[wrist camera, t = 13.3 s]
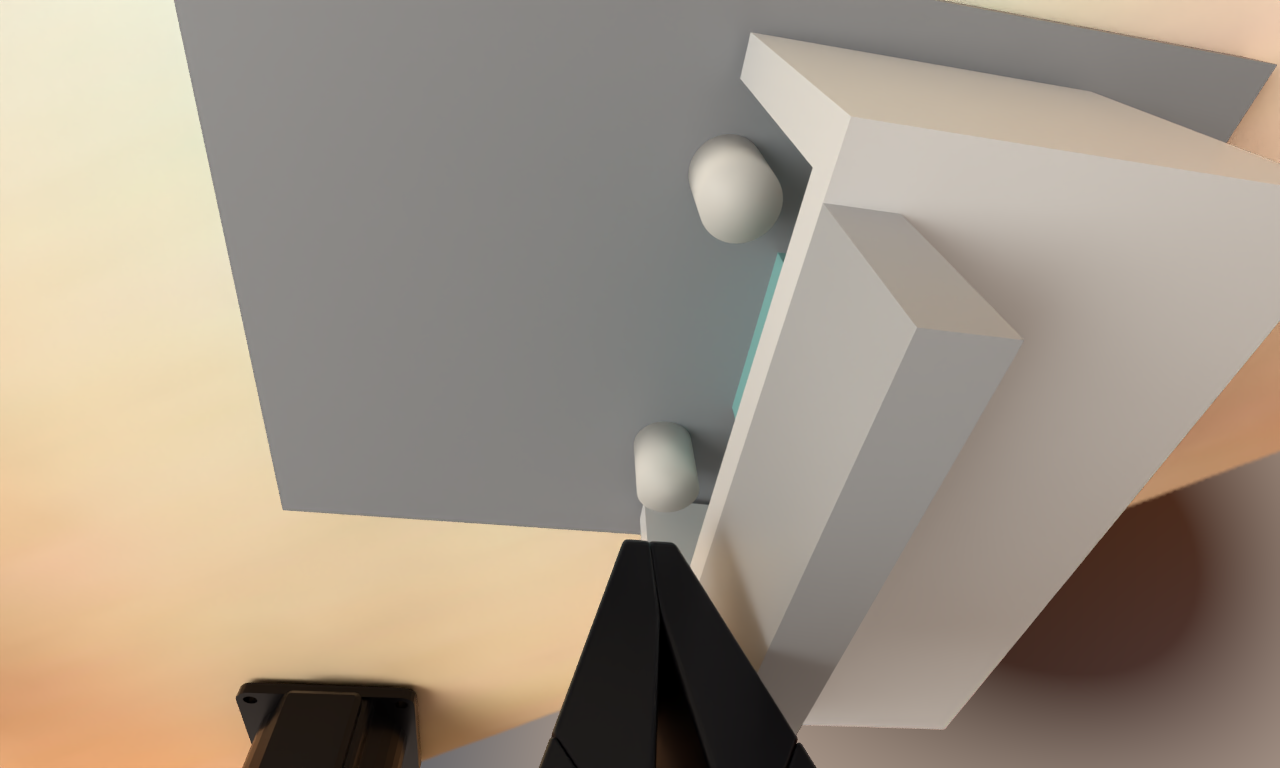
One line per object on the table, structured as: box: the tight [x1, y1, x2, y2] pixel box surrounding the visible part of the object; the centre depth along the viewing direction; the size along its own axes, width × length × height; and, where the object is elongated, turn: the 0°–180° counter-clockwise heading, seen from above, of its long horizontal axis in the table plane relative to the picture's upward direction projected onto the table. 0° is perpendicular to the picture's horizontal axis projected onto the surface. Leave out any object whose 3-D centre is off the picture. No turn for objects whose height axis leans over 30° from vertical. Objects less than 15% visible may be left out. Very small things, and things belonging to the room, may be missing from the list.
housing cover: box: [640, 32, 1280, 735], centre depth 13 cm, size 13×7×9 cm, turn 171°
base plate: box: [174, 0, 1277, 534], centre depth 16 cm, size 15×21×3 cm
